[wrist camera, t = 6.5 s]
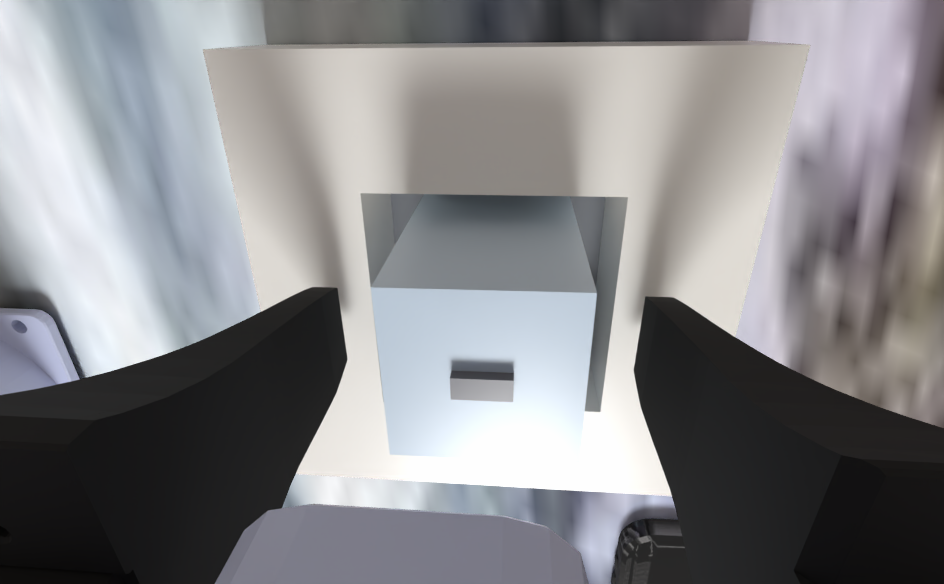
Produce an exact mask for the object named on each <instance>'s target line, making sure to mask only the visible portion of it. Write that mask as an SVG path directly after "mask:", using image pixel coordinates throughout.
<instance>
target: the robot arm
mask: <svg viewBox="0 0 944 584" xmlns="http://www.w3.org/2000/svg"><path fill="white" fill-rule="evenodd" d="M347 360H348V359H347V352H346V345H345V338H344V331H343V323H342V316H341V309H340V302H339V295H338V288H332V287H311V288H308V289H306V290H303V291H301V292H299V293H297V294H295V295H293V296H291V297H289V298H287V299H285V300H283V301H281V302H279V303H277V304H275V305H273V306H271V307H269V308H267V309H266V310H264V311H262V312H260V313H258V314H256V315H254V316H252V317H250V318H248V319H246V320H244V321H242V322H240V323H238V324H236V325H234V326H231V327H229V328H227V329H225V330H223V331H221V332H219V333H217V334H215V335H213V336H210V337H208V338H206V339H203V340H201V341H199V342H196V343H194V344H191V345H189V346H186V347H184V348H181V349H178V350H176V351H173V352H170V353H168V354H165V355H162V356H159V357H156V358H153V359H150V360H147V361H143V362H140V363H137V364H134V365H130V366H127V367H124V368H121V369H117V370H114V371H111V372H107V373H103V374H99V375H95V376H91V377H87V378H83V379H79V377H78V374H77V372H76V370H75V367H74V365H73V363H72V360H71V358H70V356H69V353H68V351H67V349H66V346H65V344H64V342H63V340H62V337H61V335H60V333H59V330H58V328H57V326H56V323H55V321H54V320H53V318H52V317H51V316H50V315H49V314H48V313H46V312H44V311H42V310H37V309H13V308H0V584H588V579H587V576H586V572H585V568H584V565H583V561H582V557H581V554H580V552H579V551H577V550H576V549H575V548H574V547H572V546H571V545H570V544H569V543H567V542H566V541H565V540H564V539H562V538H561V537H560V536H558V535H557V534H556V533H555V532H553V531H552V530H551V529H550V528H548V527H546V526H543V525H539V524H535V523H531V522H527V521H523V520H519V519H515V518H511V517H507V516H501V515H485V514H469V513H453V512H436V511H420V510H404V509H388V508H371V507H355V506H339V505H323V504H309V505H302V506H295V507H288V508H282V506H283V503H284V501H285V498H286V495H287V493H288V490H289V488H290V485H291V483H292V481H293V478H294V476H295V474H296V472H297V470H298V467H299V466H300V464H301V462H302V460H303V458H304V456H305V454H306V452H307V450H308V448H309V446H310V444H311V442H312V440H313V438H314V436H315V435H316V433H317V431H318V429H319V427H320V425H321V423H322V421H323V419H324V417H325V415H326V413H327V411H328V409H329V407H330V405H331V403H332V401H333V399H334V397H335V395H336V393H337V390H338V387H339V384H340V381H341V379H342V376H343V372H344V369H345V366H346V363H347ZM634 376H635V381H636V387H637V392H638V397H639V402H640V406H641V409H642V412H643V415H644V418H645V421H646V424H647V427H648V430H649V433H650V435H651V438H652V441H653V444H654V446H655V449H656V452H657V455H658V458H659V460H660V463H661V466H662V469H663V471H664V474H665V477H666V480H667V483H668V485H669V488H670V491H671V495H672V498H673V501H674V504H675V508H676V512H677V516H678V521H679V525H680V529H681V533H682V537H683V542H684V546H685V550H686V555H687V560H688V564H689V569H690V574H691V578H692V583H693V584H944V428H941V427H938V426H935V425H931V424H928V423H925V422H922V421H919V420H916V419H912V418H909V417H906V416H903V415H900V414H897V413H894V412H892V411H889V410H886V409H883V408H880V407H877V406H875V405H872V404H870V403H867V402H864V401H862V400H859V399H857V398H854V397H852V396H849V395H847V394H844V393H842V392H839V391H837V390H834V389H832V388H830V387H828V386H825V385H823V384H821V383H819V382H816V381H814V380H812V379H810V378H808V377H806V376H804V375H802V374H800V373H798V372H796V371H794V370H792V369H789V368H788V367H786V366H784V365H782V364H780V363H778V362H776V361H774V360H773V359H771V358H769V357H767V356H766V355H764V354H762V353H760V352H759V351H757V350H755V349H754V348H752V347H750V346H748V345H747V344H745V343H744V342H742V341H740V340H739V339H737V338H736V337H734V336H733V335H731V334H729V333H728V332H726V331H725V330H723V329H722V328H720V327H719V326H717V325H716V324H714V323H713V322H711V321H710V320H708V319H707V318H705V317H704V316H702V315H701V314H699V313H698V312H696V311H695V310H693V309H692V308H690V307H689V306H687V305H686V304H684V303H683V302H681V301H679V300H677V299H675V298H673V297H648V296H645V301H644V308H643V314H642V320H641V327H640V333H639V339H638V346H637V352H636V358H635V365H634Z"/></svg>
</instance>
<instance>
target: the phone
mask: <svg viewBox="0 0 944 584" xmlns="http://www.w3.org/2000/svg"><path fill="white" fill-rule="evenodd" d="M614 565H615V571H614V573H613V575H612V583H611V584H693V583H692V578H691V574H690V569H689V564H688V560H687V555H686V550H685V546H684V542H683V537H682V533H681V529H680V525H679V521H678V520H671V519H642V520H639V521H635V522H633V523H631V524H629V525H628V526H626V527H625V528H624V529H623V530H622V531H621V534H620V537H619V542H618V549H617V555H616V556H615V563H614Z"/></svg>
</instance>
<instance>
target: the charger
mask: <svg viewBox="0 0 944 584" xmlns="http://www.w3.org/2000/svg"><path fill="white" fill-rule="evenodd" d="M371 295H372V303H373V312H374V321H375V329H376V338H377V347H378V355H379V364H380V373H381V382H382V390H383V399H384V408H385V416H386V425H387V434H388V442H389V451H390V455H408V456H428V457H447V458H467V459H486V460H506V461H526V462H545V463H565V464H579V460H580V451H581V441H582V432H583V422H584V413H585V404H586V394H587V385H588V375H589V366H590V356H591V347H592V337H593V328H594V318H595V309H596V299H597V291H596V287H595V284H594V280H593V277H592V273H591V270H590V266H589V262H588V259H587V255H586V252H585V248H584V245H583V241H582V238H581V234H580V231H579V227H578V224H577V220H576V217H575V213H574V209H573V206H572V202H571V199H570V196H518V195H450V194H424V195H423V197H422V199H421V201H420V202H419V204H418V206H417V208H416V209H415V211H414V213H413V215H412V216H411V218H410V220H409V222H408V223H407V225H406V227H405V229H404V230H403V232H402V234H401V235H400V237H399V239H398V241H397V242H396V244H395V246H394V248H393V249H392V251H391V253H390V255H389V256H388V258H387V260H386V262H385V263H384V265H383V267H382V269H381V270H380V272H379V274H378V276H377V277H376V279H375V281H374V283H373V284H372V286H371Z"/></svg>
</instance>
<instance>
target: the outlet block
mask: <svg viewBox="0 0 944 584" xmlns="http://www.w3.org/2000/svg"><path fill="white" fill-rule="evenodd" d="M809 48H810V45H806V44H791V43H776V42H762V41H643V42H524V43H405V44H286V45H255V46H242V47H229V48H216V49H203V53H204V57H205V62H206V66H207V71H208V75H209V80H210V84H211V89H212V93H213V98H214V102H215V107H216V111H217V116H218V120H219V125H220V129H221V134H222V138H223V143H224V147H225V152H226V156H227V161H228V165H229V170H230V174H231V179H232V184H233V188H234V193H235V197H236V202H237V206H238V211H239V215H240V220H241V224H242V229H243V233H244V238H245V242H246V247H247V251H248V256H249V260H250V265H251V269H252V274H253V278H254V283H255V287H256V292H257V296H258V301H259V305H260V310H261V312H262V311H264V310H266V309H267V308H269V307H271V306H273V305H275V304H277V303H279V302H281V301H283V300H285V299H287V298H289V297H291V296H293V295H295V294H297V293H299V292H301V291H303V290H306V289H308V288H311V287H332V288H338V295H339V302H340V309H341V316H342V323H343V331H344V338H345V345H346V352H347V359H348V360H347V363H346V366H345V369H344V372H343V376H342V379H341V381H340V384H339V387H338V390H337V393H336V395H335V397H334V399H333V401H332V403H331V405H330V407H329V409H328V411H327V413H326V415H325V417H324V419H323V421H322V423H321V425H320V427H319V429H318V431H317V433H316V435H315V436H314V438H313V440H312V442H311V444H310V446H309V448H308V450H307V452H306V454H305V456H304V458H303V460H302V462H301V464H300V466H299V467H298V470H297V472H296V473H297V474H302V475H319V476H336V477H353V478H370V479H387V480H404V481H421V482H438V483H455V484H473V485H490V486H507V487H524V488H541V489H558V490H575V491H592V492H609V493H626V494H643V495H660V496H672V495H671V491H670V488H669V485H668V483H667V480H666V477H665V474H664V471H663V469H662V466H661V463H660V460H659V458H658V455H657V452H656V449H655V446H654V444H653V441H652V438H651V435H650V433H649V430H648V427H647V424H646V421H645V418H644V415H643V412H642V409H641V406H640V402H639V397H638V392H637V387H636V381H635V376H634V365H635V358H636V352H637V346H638V339H639V333H640V327H641V320H642V314H643V308H644V301H645V296H648V297H673V298H675V299H677V300H679V301H681V302H683V303H684V304H686V305H687V306H689V307H690V308H692V309H693V310H695V311H696V312H698V313H699V314H701V315H702V316H704V317H705V318H707V319H708V320H710V321H711V322H713V323H714V324H716V325H717V326H719V327H720V328H722V329H723V330H725V331H726V332H728V333H729V334H731V335H733V336H734V337H735V336H736V332H737V328H738V324H739V320H740V316H741V313H742V309H743V305H744V301H745V297H746V293H747V289H748V285H749V281H750V278H751V274H752V270H753V266H754V262H755V258H756V254H757V250H758V246H759V243H760V239H761V235H762V231H763V227H764V223H765V219H766V215H767V211H768V208H769V204H770V200H771V196H772V192H773V188H774V184H775V180H776V176H777V173H778V169H779V165H780V161H781V157H782V153H783V149H784V145H785V141H786V138H787V134H788V130H789V126H790V122H791V118H792V114H793V110H794V106H795V103H796V99H797V95H798V91H799V87H800V83H801V79H802V75H803V71H804V68H805V64H806V60H807V56H808V52H809ZM424 194H450V195H518V196H570V199H571V202H572V206H573V209H574V213H575V217H576V220H577V224H578V227H579V231H580V234H581V238H582V241H583V245H584V248H585V252H586V255H587V259H588V262H589V266H590V270H591V273H592V277H593V280H594V284H595V287H596V291H597V299H596V309H595V318H594V328H593V337H592V347H591V356H590V366H589V375H588V385H587V394H586V404H585V413H584V422H583V432H582V441H581V451H580V460H579V464H565V463H545V462H526V461H506V460H486V459H467V458H447V457H428V456H408V455H390V451H389V442H388V434H387V425H386V416H385V408H384V399H383V390H382V382H381V373H380V364H379V355H378V347H377V338H376V329H375V321H374V312H373V303H372V295H371V286H372V284H373V283H374V281H375V279H376V277H377V276H378V274H379V272H380V270H381V269H382V267H383V265H384V263H385V262H386V260H387V258H388V256H389V255H390V253H391V251H392V249H393V248H394V246H395V244H396V242H397V241H398V239H399V237H400V235H401V234H402V232H403V230H404V229H405V227H406V225H407V223H408V222H409V220H410V218H411V216H412V215H413V213H414V211H415V209H416V208H417V206H418V204H419V202H420V201H421V199H422V197H423V195H424Z"/></svg>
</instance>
